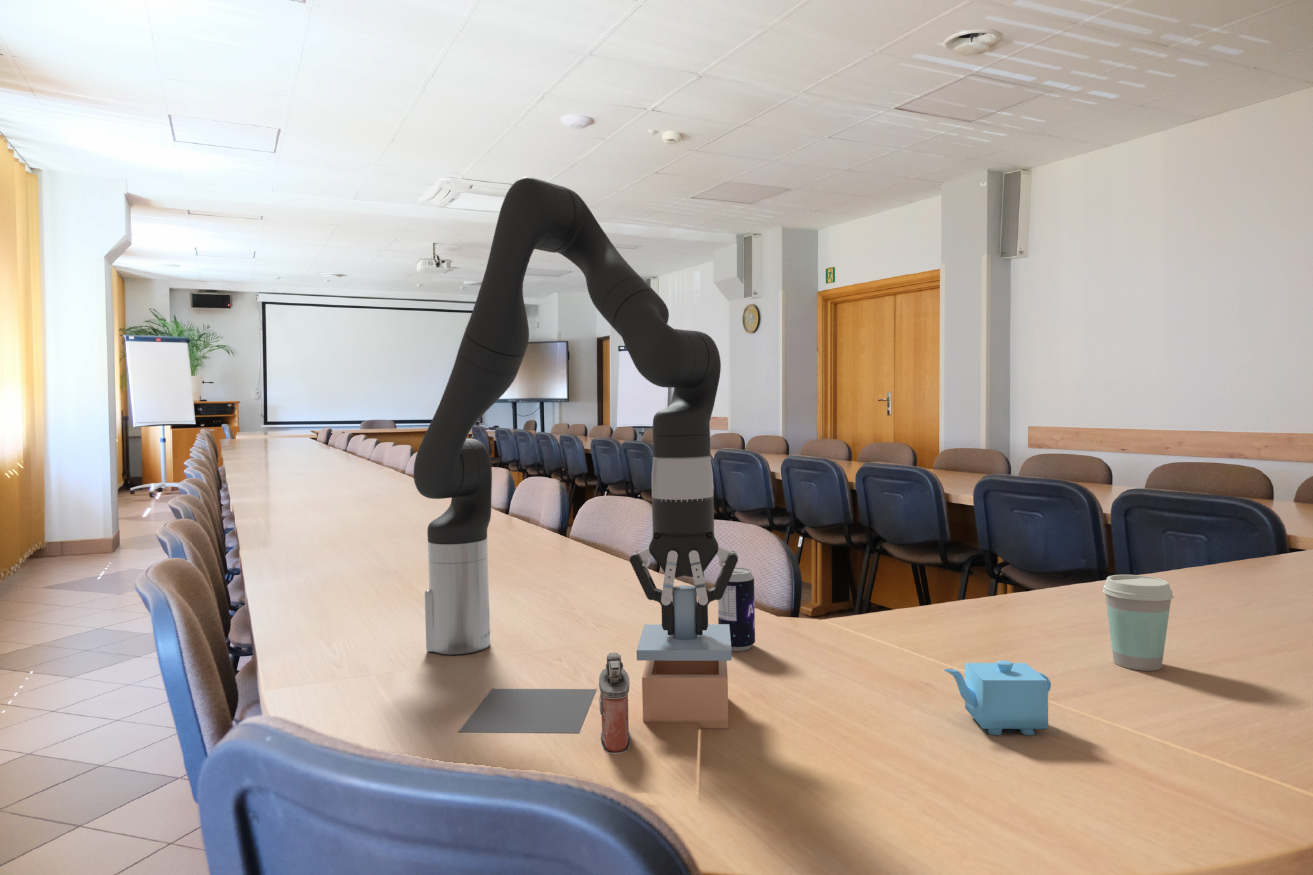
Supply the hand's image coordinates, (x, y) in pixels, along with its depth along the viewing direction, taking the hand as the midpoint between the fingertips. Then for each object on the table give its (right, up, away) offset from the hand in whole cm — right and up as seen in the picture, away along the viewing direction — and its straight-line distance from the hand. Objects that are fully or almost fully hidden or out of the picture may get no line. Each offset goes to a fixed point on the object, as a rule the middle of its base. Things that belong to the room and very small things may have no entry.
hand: (685, 632), depth 97 cm
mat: (-19, -10, 0) cm, 21 cm away
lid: (0, -2, 0) cm, 2 cm away
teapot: (+36, -10, -6) cm, 38 cm away
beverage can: (+9, -9, +26) cm, 29 cm away
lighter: (-8, -11, -9) cm, 16 cm away
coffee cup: (+64, -8, +14) cm, 66 cm away
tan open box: (0, -10, 0) cm, 10 cm away
